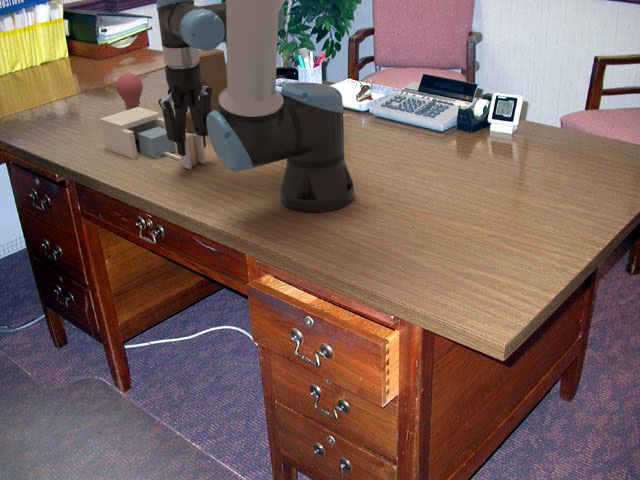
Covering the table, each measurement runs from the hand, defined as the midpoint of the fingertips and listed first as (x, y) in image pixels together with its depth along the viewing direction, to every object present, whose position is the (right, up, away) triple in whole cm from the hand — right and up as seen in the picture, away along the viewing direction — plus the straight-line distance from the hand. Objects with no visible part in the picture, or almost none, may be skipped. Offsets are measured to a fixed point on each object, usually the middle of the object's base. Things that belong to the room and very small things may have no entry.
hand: (193, 164), depth 164 cm
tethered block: (-6, +2, +5) cm, 8 cm away
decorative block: (0, +11, +22) cm, 25 cm away
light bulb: (-23, +17, +35) cm, 45 cm away
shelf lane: (-16, +6, +13) cm, 21 cm away
